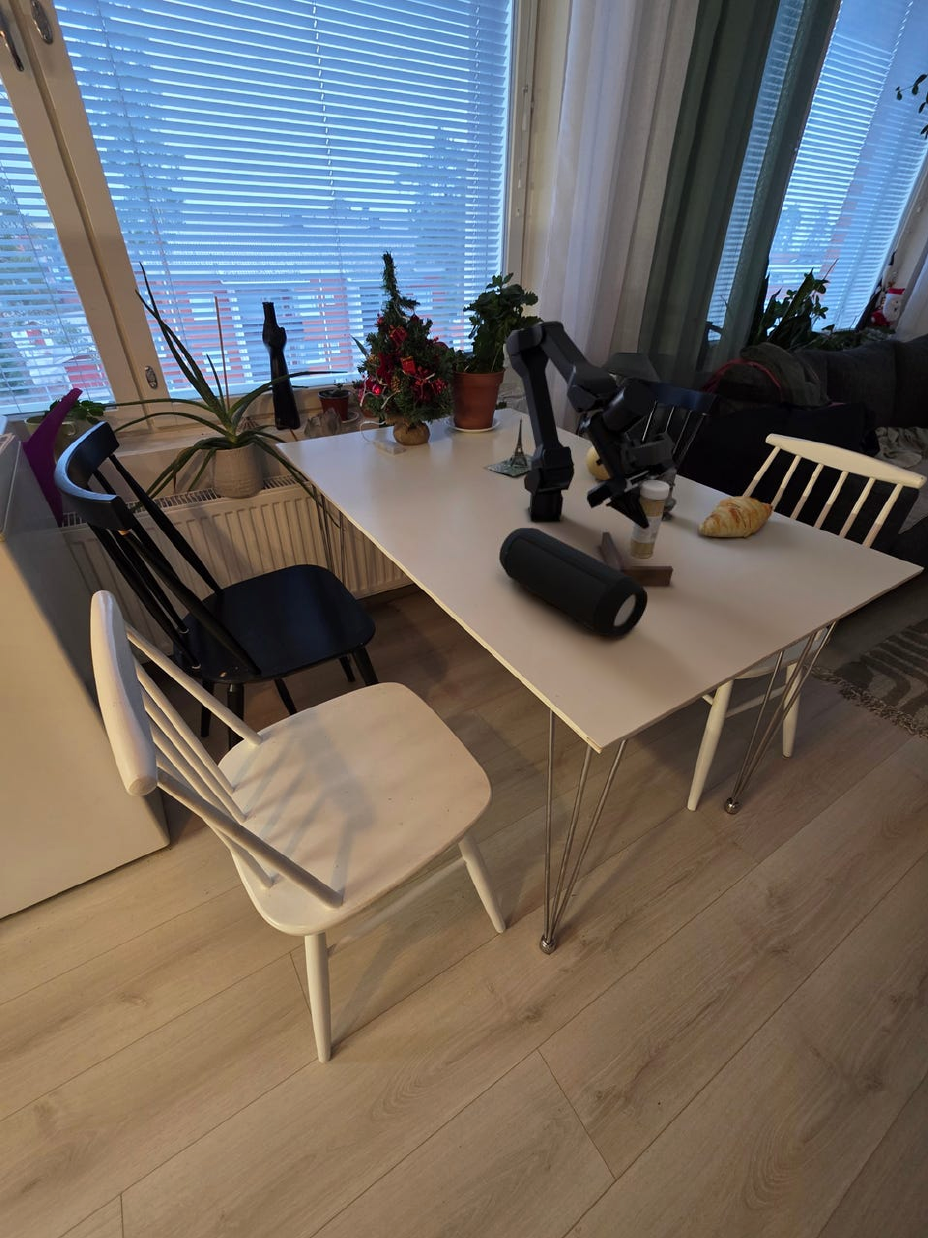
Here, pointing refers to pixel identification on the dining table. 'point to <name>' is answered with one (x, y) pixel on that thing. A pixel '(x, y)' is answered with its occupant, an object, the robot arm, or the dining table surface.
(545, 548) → the portable speaker
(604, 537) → the corner fence
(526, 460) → the eiffel tower figurine
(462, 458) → the dining table surface
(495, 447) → the dining table surface
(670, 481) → the grey stone chess piece
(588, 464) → the stress ball
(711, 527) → the croissant
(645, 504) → the sprinkles bottle
